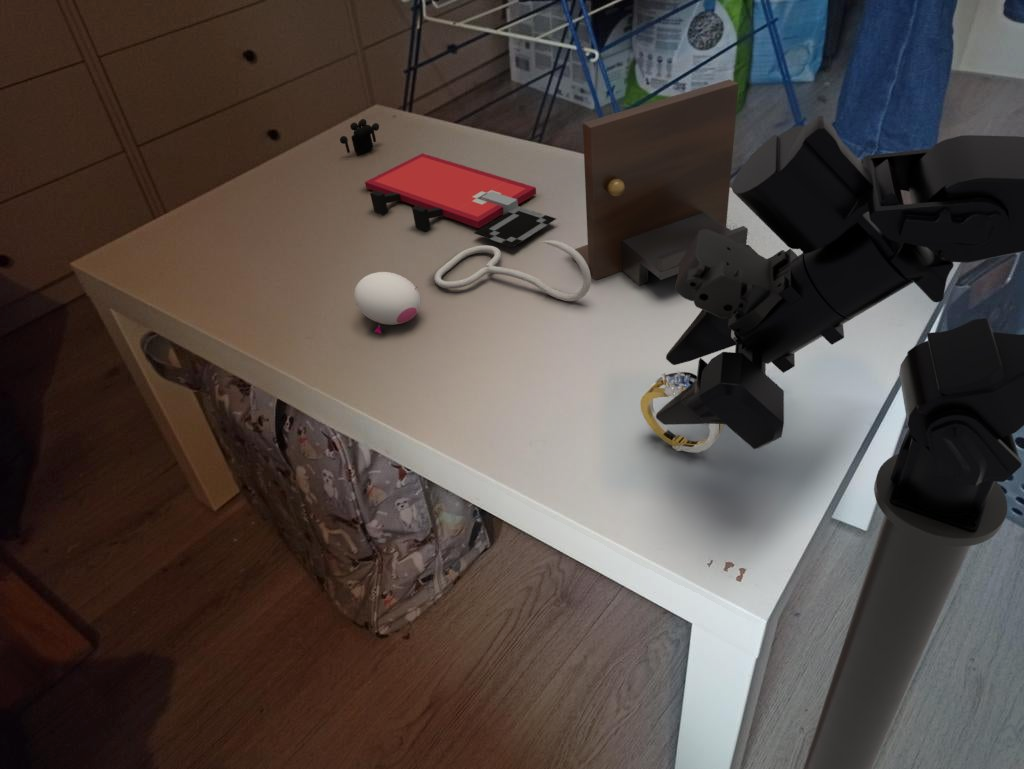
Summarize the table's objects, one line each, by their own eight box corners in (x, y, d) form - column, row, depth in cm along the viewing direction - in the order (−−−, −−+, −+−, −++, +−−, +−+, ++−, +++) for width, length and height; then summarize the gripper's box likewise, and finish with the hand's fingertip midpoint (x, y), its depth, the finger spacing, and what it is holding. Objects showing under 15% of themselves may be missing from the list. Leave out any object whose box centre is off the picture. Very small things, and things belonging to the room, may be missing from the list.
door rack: (768, 262, 89) (789, 105, 78) (632, 313, 85) (632, 155, 73) (698, 214, 99) (706, 68, 87) (571, 258, 94) (563, 110, 83)
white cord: (573, 327, 83) (430, 303, 94) (616, 282, 88) (476, 264, 100) (560, 266, 79) (412, 248, 90) (606, 222, 84) (461, 211, 96)
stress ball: (432, 340, 90) (444, 282, 89) (394, 342, 83) (406, 279, 82) (378, 324, 93) (389, 268, 92) (336, 324, 86) (347, 263, 85)
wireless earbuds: (380, 143, 126) (373, 112, 122) (389, 147, 124) (382, 116, 121) (343, 158, 123) (335, 127, 119) (351, 163, 121) (343, 131, 118)
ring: (634, 441, 70) (635, 372, 65) (654, 421, 72) (656, 352, 67) (704, 475, 66) (711, 405, 61) (724, 453, 68) (731, 382, 63)
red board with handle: (502, 260, 95) (580, 210, 103) (500, 239, 93) (579, 190, 101) (346, 201, 112) (423, 162, 120) (342, 182, 110) (420, 144, 118)
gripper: (755, 147, 60) (612, 265, 70) (748, 286, 46) (571, 407, 56) (848, 243, 63) (698, 342, 73) (867, 399, 49) (679, 494, 59)
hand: (664, 389), depth 65 cm, fingers open, 7 cm apart
